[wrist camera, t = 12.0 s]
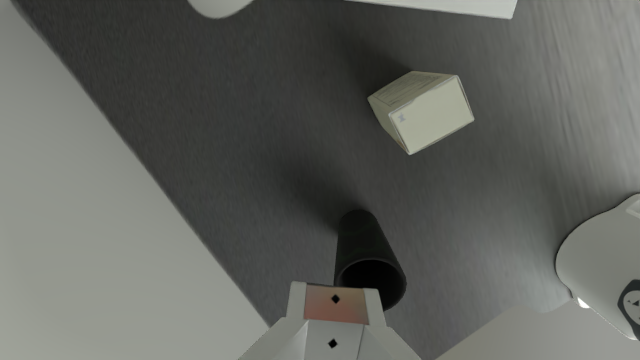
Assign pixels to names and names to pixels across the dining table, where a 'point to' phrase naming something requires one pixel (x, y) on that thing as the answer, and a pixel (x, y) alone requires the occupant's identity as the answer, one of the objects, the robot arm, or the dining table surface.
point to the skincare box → (421, 108)
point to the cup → (368, 259)
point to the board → (456, 6)
